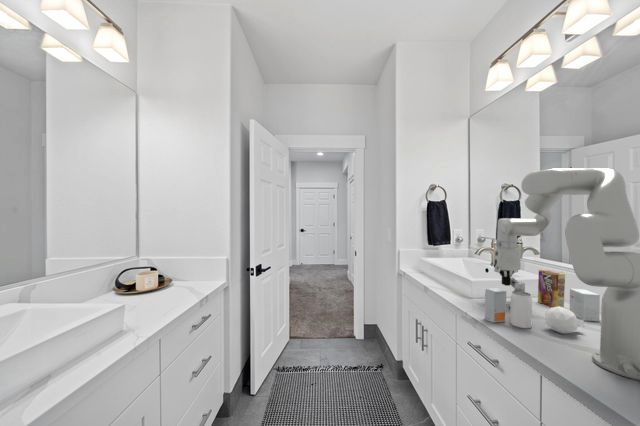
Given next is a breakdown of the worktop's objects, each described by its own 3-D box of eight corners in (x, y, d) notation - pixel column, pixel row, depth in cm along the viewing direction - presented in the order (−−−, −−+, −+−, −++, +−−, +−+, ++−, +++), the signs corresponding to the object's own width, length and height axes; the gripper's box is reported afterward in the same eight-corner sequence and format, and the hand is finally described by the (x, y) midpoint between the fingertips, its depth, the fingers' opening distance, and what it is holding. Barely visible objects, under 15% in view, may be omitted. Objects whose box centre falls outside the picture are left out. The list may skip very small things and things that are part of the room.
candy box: (564, 308, 122) (566, 273, 122) (557, 309, 121) (558, 274, 121) (544, 301, 131) (545, 269, 131) (537, 302, 130) (538, 269, 130)
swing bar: (515, 292, 118) (515, 283, 118) (505, 283, 133) (505, 275, 133) (525, 293, 117) (526, 284, 117) (514, 284, 132) (514, 276, 132)
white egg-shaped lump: (562, 334, 92) (595, 338, 93) (558, 305, 95) (591, 309, 96) (539, 331, 100) (570, 334, 101) (536, 304, 103) (566, 308, 104)
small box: (599, 322, 107) (600, 295, 107) (582, 320, 109) (583, 293, 108) (584, 314, 115) (585, 289, 115) (568, 313, 116) (569, 288, 116)
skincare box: (493, 323, 105) (494, 291, 104) (484, 318, 109) (484, 288, 109) (506, 321, 106) (507, 290, 106) (496, 317, 110) (497, 287, 110)
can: (506, 323, 105) (506, 291, 105) (516, 320, 107) (517, 289, 107) (524, 330, 99) (525, 296, 99) (535, 327, 102) (536, 294, 101)
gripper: (496, 246, 124) (495, 287, 124) (528, 246, 125) (527, 287, 125) (485, 244, 131) (484, 282, 132) (516, 244, 132) (515, 282, 133)
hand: (505, 284), depth 128 cm, fingers closed
